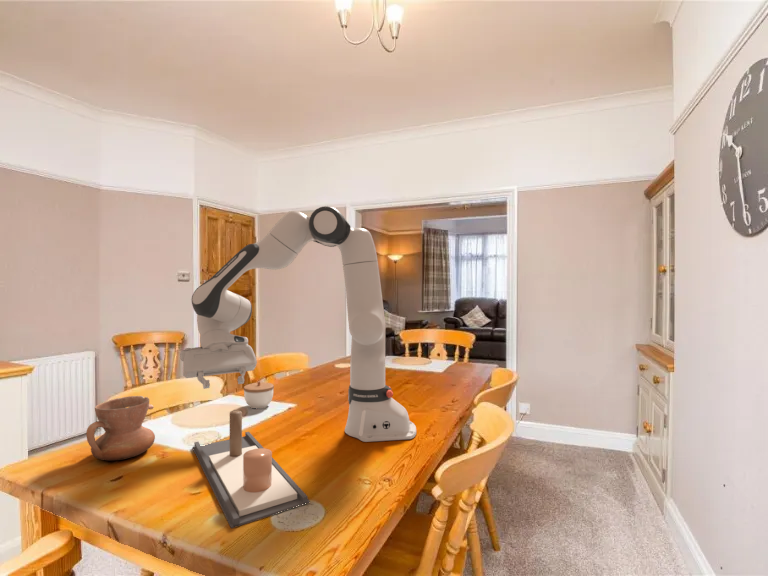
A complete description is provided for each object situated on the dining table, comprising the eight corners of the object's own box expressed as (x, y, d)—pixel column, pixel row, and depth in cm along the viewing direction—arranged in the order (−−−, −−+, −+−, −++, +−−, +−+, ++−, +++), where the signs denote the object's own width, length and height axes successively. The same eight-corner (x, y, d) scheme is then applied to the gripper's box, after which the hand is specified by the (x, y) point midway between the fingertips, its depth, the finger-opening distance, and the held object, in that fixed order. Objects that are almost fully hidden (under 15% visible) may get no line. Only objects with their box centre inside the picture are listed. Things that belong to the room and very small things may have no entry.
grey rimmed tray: (192, 448, 113) (192, 442, 113) (250, 436, 122) (250, 431, 122) (231, 528, 77) (231, 520, 77) (309, 503, 86) (309, 495, 86)
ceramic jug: (136, 438, 120) (134, 390, 120) (171, 445, 115) (169, 396, 114) (69, 464, 104) (66, 409, 103) (106, 475, 98) (104, 417, 98)
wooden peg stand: (208, 460, 105) (208, 413, 104) (255, 449, 111) (255, 405, 111) (239, 516, 80) (239, 455, 79) (297, 498, 86) (297, 442, 86)
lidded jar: (237, 408, 149) (237, 383, 148) (256, 401, 158) (256, 377, 158) (261, 412, 145) (261, 386, 144) (279, 404, 154) (279, 379, 154)
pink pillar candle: (274, 478, 93) (275, 448, 92) (266, 492, 87) (267, 460, 86) (248, 478, 93) (248, 448, 92) (238, 492, 87) (239, 459, 86)
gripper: (180, 342, 115) (185, 383, 108) (252, 337, 127) (262, 374, 119) (178, 355, 119) (182, 396, 111) (248, 349, 131) (257, 386, 123)
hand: (224, 385), depth 115 cm, fingers open, 8 cm apart
